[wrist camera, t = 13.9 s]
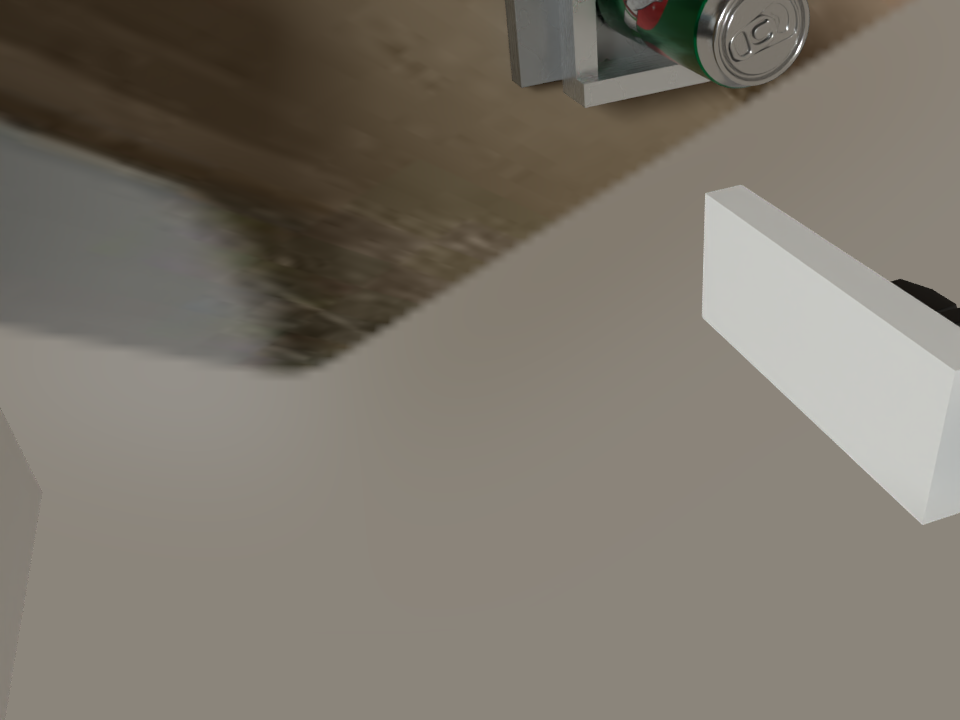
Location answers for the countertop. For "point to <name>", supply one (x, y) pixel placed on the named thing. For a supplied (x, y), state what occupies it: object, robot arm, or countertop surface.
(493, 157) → the countertop surface
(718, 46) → the soda can
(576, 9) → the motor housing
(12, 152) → the countertop surface
